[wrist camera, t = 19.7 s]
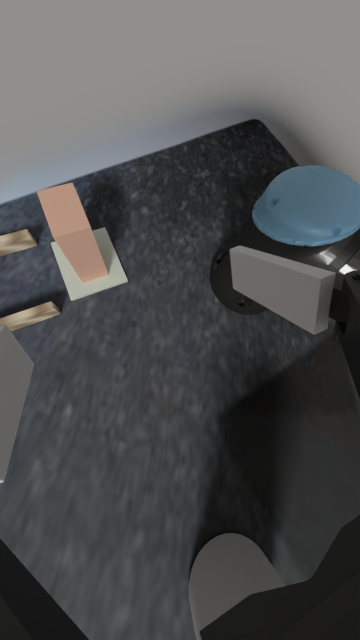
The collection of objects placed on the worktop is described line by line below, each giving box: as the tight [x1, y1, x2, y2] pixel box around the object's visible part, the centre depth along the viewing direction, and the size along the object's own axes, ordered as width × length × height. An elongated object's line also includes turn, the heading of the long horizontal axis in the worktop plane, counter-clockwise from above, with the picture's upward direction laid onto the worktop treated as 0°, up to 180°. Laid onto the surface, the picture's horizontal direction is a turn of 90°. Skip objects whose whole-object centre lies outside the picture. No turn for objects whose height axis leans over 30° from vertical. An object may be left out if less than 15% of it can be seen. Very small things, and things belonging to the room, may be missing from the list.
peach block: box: [37, 183, 109, 283], centre depth 39 cm, size 5×8×14 cm, turn 24°
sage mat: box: [51, 227, 128, 301], centre depth 46 cm, size 11×13×1 cm
